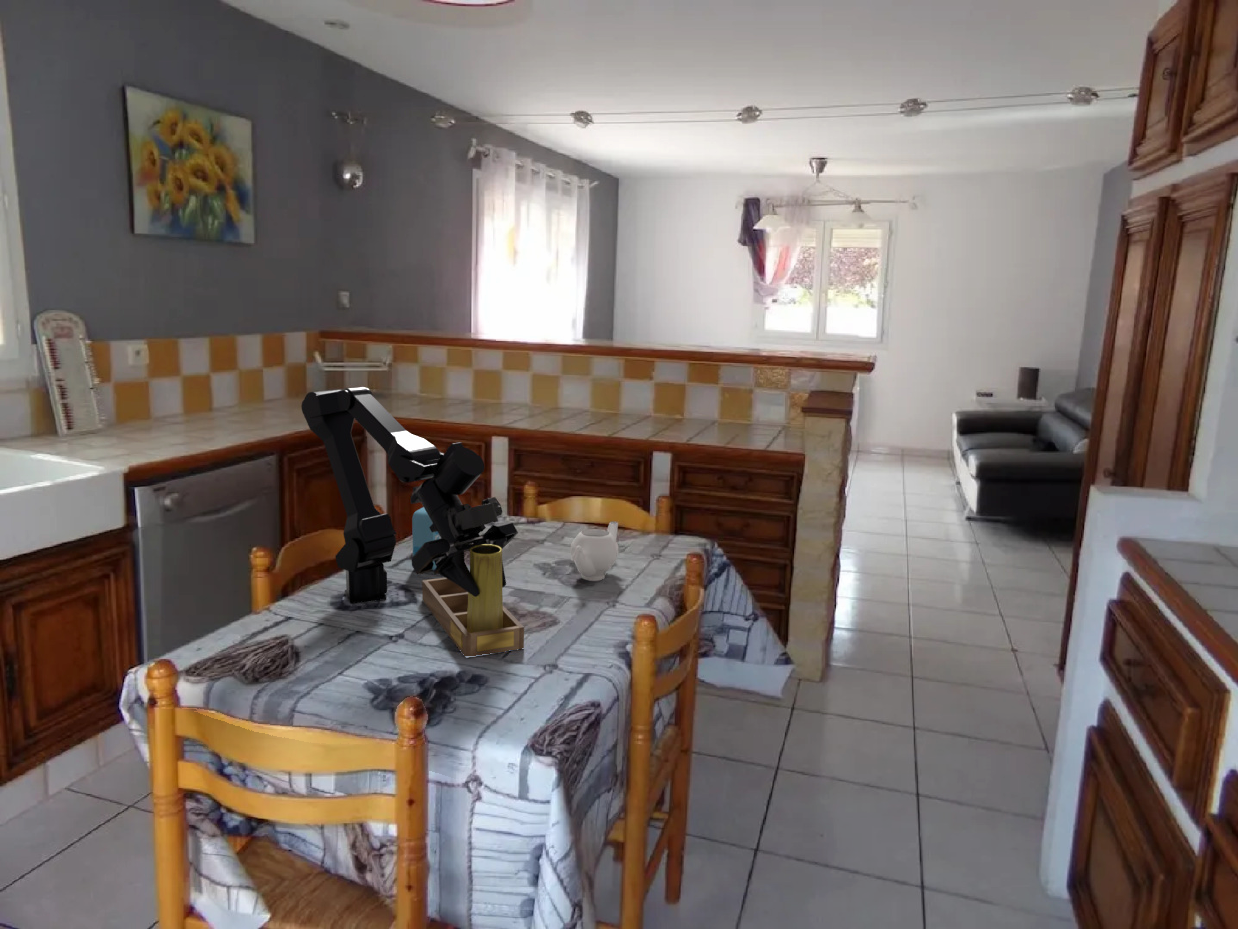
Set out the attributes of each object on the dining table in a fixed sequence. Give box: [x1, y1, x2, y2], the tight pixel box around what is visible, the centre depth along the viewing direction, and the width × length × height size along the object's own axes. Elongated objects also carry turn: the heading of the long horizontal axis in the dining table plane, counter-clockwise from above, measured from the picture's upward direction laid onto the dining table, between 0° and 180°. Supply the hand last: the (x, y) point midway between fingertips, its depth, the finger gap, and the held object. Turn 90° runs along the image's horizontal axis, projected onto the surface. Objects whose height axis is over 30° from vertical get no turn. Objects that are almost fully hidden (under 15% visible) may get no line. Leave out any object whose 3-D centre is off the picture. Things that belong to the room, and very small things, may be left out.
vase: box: [466, 544, 504, 633], centre depth 139 cm, size 6×6×14 cm
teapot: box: [570, 521, 620, 582], centre depth 173 cm, size 10×20×9 cm, turn 156°
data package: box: [411, 507, 441, 571], centre depth 178 cm, size 12×4×12 cm, turn 167°
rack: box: [421, 577, 525, 657], centre depth 148 cm, size 10×27×4 cm, turn 27°
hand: (491, 590), depth 138 cm, fingers closed on vase, 5 cm apart
